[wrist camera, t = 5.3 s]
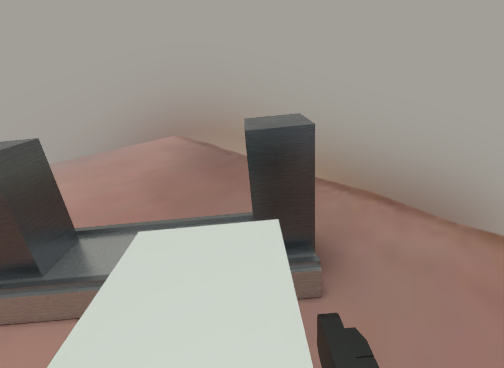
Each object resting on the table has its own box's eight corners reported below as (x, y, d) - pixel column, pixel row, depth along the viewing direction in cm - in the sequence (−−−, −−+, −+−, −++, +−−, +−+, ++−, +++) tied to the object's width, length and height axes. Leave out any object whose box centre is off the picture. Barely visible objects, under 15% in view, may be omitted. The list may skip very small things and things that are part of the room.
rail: (-22, 326, 20) (-126, 172, 15) (56, 253, 28) (4, 138, 24) (321, 296, 20) (323, 129, 15) (298, 231, 28) (295, 110, 23)
